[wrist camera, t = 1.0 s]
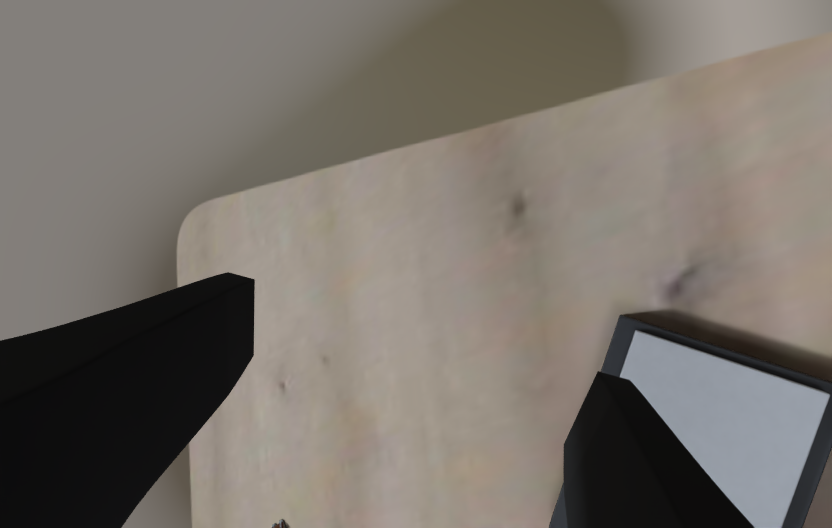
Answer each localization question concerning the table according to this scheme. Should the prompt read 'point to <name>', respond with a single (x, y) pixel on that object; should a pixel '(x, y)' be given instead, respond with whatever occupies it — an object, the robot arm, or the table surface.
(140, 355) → the robot arm
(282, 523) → the wristwatch
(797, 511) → the scale
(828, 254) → the table surface
